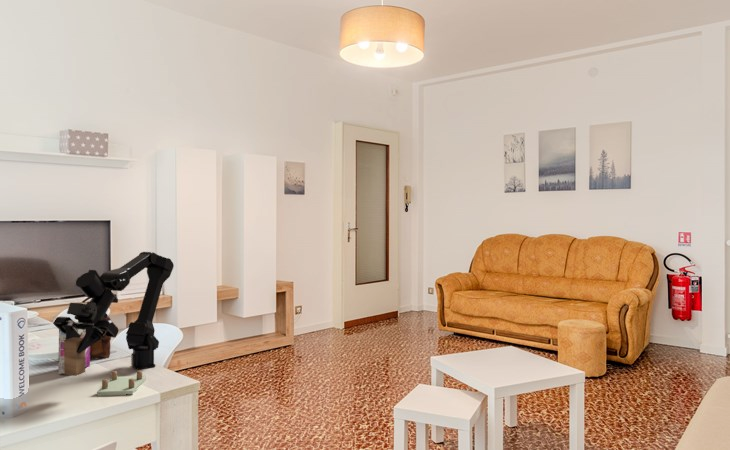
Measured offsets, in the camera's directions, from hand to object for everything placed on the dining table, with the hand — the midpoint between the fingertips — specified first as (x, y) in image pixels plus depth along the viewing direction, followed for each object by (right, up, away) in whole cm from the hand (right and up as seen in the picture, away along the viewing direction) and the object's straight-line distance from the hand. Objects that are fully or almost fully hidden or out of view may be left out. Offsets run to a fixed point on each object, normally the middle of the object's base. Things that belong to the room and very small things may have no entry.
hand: (71, 352), depth 153 cm
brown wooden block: (0, -7, +2) cm, 7 cm away
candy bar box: (-14, -13, +27) cm, 33 cm away
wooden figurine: (-15, -12, +42) cm, 46 cm away
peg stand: (+10, -13, +11) cm, 20 cm away
